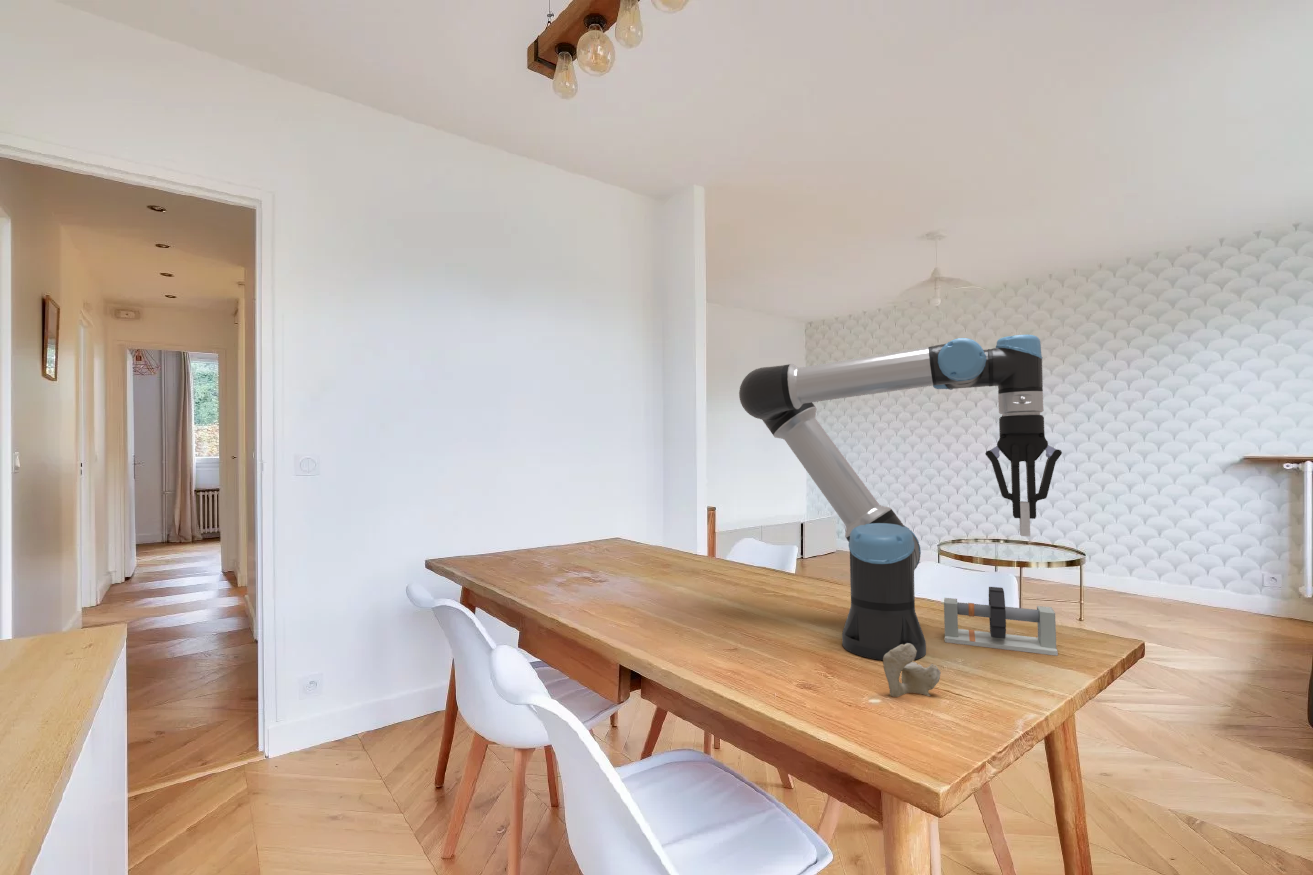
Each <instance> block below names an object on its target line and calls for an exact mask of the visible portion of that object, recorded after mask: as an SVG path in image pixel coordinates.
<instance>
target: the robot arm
mask: <svg viewBox="0 0 1313 875" xmlns="http://www.w3.org/2000/svg"><path fill="white" fill-rule="evenodd" d="M1041 344H1042V343H1041V340H1040V338H1039V337H1038V336H1037V335H1033V334H1016V335H1011V336H1010V335H1009V336H1004V337H1000V338H998V339H997V341H996V346H995V348H988V349H983V347H982V346H981V345H980V343H978V342H977V341H976V340H974V339H972V338H968V337H959V338H955V339H952V340H950V341H948V342H947V343H944V344H936V345H931V346H923V347H919V348H912V349H911V348H910V349H905V350H900V351H894V352H893V351H892V352H887V353H886V352H885V353H880V354H876V355H875V354H874V355H869V356H862V357H858V358H850V359H845V360H843V359H842V360H837V361H833V362H827V363H820V364H813V365H808V366H801V367H798V366H797V365H795V364H794V363H790V364H789V363H788V364H783V365H775V366H774V365H773V366H765V367H760V368H755V369H754V370H752V371H750V372H749V373H748V374H747V375H746V376H744V378H743V380H742V381H741V384H740V386H739V392H738V394H739V395H738V396H739V402H740V404H741V406H742V408H743V410H744V411H746V413H747V414H748V415H750V416H751V417H753V418H755V419H759V420H762V422H763V423H764V425H765V426H766V428H767V429H768V430H769V431H770V433H771V434H772V436H773V437H774V438H777V439H780V440H781V439H783V440H784V441H785V443H786V445H788V447H789V448H790V450H791V451H792V453H793V454H794V455H795V457H796V458H797V460H798V461H799V463H800V464H801V465H802V467H803V468H804V470H805V471H806V472H807V473H808V475H809V477H810V478H811V479H812V481H813V482H814V484H816V487H817V488H818V490H819V491H820V492H821V494H822V495H823V496H824V497H825V499H826V500H827V501H828V503H829V504H830V506H831V507H832V509H833V511H834V512H835V513H836V515H838V517H839V519H840V520H841V521H842V522H843V524H844V526H845V535H844V538H845V539H846V540H847V542H848V550H849V572H850V574H849V577H850V578H849V579H850V580H849V581H850V584H849V585H850V608H849V611H848V613H847V618H846V621H845V623H844V626H843V630H842V634H841V638H842V639H841V640H842V647H843V648H844V649H845V650H846V651H848V652H850V653H852V654H855V655H858V656H861V657H864V658H867V659H868V658H869V659H872V660H880V661H883V657H884V655H885V654H886V653H888V652H889V651H890V650H892V649H894V648H896V647H897V646H899V645H901V644H903V645H905V644H907V643H910V644H912V645H913V646H914V647H915V649H916V650H917V653H916V657H915V659H914V660H913V661H915V660H918V659H922V658H923V657H925V655H927V641H926V638H925V635H924V633H923V630H922V627H921V624H920V620H919V618H918V616H917V613H916V606H915V604H916V602H915V601H916V600H915V598H916V597H915V570H916V569H917V567H918V565H919V563H920V560H921V556H922V555H921V553H922V550H921V545H920V542H919V540H918V539H919V538H918V537H917V536H916V534H915V533H914V532H913V531H912V530H911V529H910V528H909V527H907V526H906V525H905V524H904V523H903V522H902V521H901V520H900V518H899V517H898V516H897V514H896V513H895V511H894V510H893V509H892V507H890V506H884V505H881V504H880V503H879V502H878V501H877V499H876V498H875V496H874V495H873V494H872V492H871V491H870V489H869V488H868V487H867V486H866V484H865V483H864V482H863V480H862V479H861V478H860V476H859V475H858V473H857V472H856V471H855V469H854V468H853V467H852V465H850V463H849V462H848V460H847V459H846V457H845V456H844V455H843V453H842V452H841V451H840V450H839V448H838V447H837V445H836V444H835V442H834V441H833V440H832V439H831V437H830V436H829V435H828V434H827V433H828V432H826V430H825V429H824V427H823V426H822V425H821V424H820V422H819V421H818V419H817V418H816V413H817V407H816V406H815V405H814V403H816V402H817V403H818V402H823V401H825V402H826V401H831V400H839V399H840V400H841V399H844V398H845V399H846V398H852V397H853V398H854V397H861V396H865V395H866V396H867V395H875V394H881V393H888V392H889V393H890V392H896V391H903V390H911V389H917V388H926V387H933V388H934V389H936V390H950V391H952V390H954V389H955V390H956V389H969V388H982V387H983V388H984V387H997V390H998V391H997V392H998V393H997V394H998V395H997V397H998V400H997V401H998V413H999V414H1000V415H1001V416H1000V417H999V419H998V424H999V425H998V426H999V429H998V430H999V439H998V441H997V442H996V446H994V447H993V448H991V449H989V450H986V451H985V456H986V457H987V459H988V460H989V461H990V462H991V464H992V465H991V466H992V469H993V472H994V475H995V478H996V481H997V485H998V488H999V491H1000V495H1001V496H1002V498H1004V499H1007V500H1009V501H1011V502H1012V503H1011V504H1012V516H1013V518H1014V519H1019V535H1020V536H1021V537H1031V519H1036V518H1037V502H1038V501H1041V500H1045V499H1047V497H1048V493H1049V490H1050V486H1051V482H1052V478H1053V476H1054V474H1053V473H1054V470H1055V466H1056V462H1057V461H1058V460H1059V458H1060V457H1061V455H1062V454H1063V452H1062V450H1061V449H1056V448H1055V447H1053V446H1051V445H1049V441H1048V440H1047V437H1045V417H1044V416H1043V415H1041V413H1043V412H1044V393H1043V392H1044V388H1043V382H1044V381H1043V354H1042V345H1041ZM1044 451H1045V452H1046V453H1045V457H1046V458H1047V459H1046V462H1045V465H1044V469H1043V473H1042V477H1041V480H1040V481H1041V482H1040V486H1039V489H1038V492H1037V491H1036V490H1037V489H1036V461H1037V460H1039V458H1040V457H1041V455H1042V454H1043V453H1044ZM1000 452H1001V453H1002V454H1003V455H1004V456H1005V457H1006V459H1007V460H1008V461H1009V462H1010V473H1011V474H1010V476H1011V480H1010V481H1011V492H1010V491H1009V489H1008V486H1007V483H1006V480H1005V476H1004V473H1003V469H1002V467H1001V463H1000V461H999V458H1000V456H1001V455H1000ZM1021 462H1025V468H1026V469H1025V470H1026V471H1025V472H1026V492H1027V493H1026V495H1027V496H1026V497H1027V501H1021V481H1020V479H1021V476H1020V474H1021V473H1020V463H1021Z"/></svg>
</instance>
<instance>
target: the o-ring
mask: <svg viewBox="0 0 1313 875" xmlns="http://www.w3.org/2000/svg"><path fill="white" fill-rule="evenodd" d="M1005 598H1006V597H1005V591H1004V588H1003V587H1001V586H1000V587H997V586H988V605H990V608H991V618H989V620H988V621H989V632H990V634H991V637H995V638H1004V639H1005V637H1006V634H1007V619H1006V610H1005V607H1006V600H1005Z"/></svg>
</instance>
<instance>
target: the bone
mask: <svg viewBox="0 0 1313 875" xmlns="http://www.w3.org/2000/svg"><path fill="white" fill-rule="evenodd" d="M916 653H917V650H916V649H915V647H914V646H913V645H912V644H910V643H907V644H905V645H903V644H901V645H899V646H897V647H896V648H894V649H892V650H890V651H889V652H888V653H886V654H885V655H884V657H883V660H882V662H883V665H882V666H883V671H884V674H885V677H886V680H887V683H888V689H889V696H890V697H892V698H899V697H901V696H904V695H907V694H909V693H914V694H921V695H924V696H927V697H931V696H932V695H931V694H930V693H929V692H930V691H931V690H933V689H934V688H935V687H936V685H937V684H938V683H939V681H940V680H941V671H940V668H938V666H937V664H934V663H931V664H930V665H929V666H928V667H924V666H923V665H921V664H918V663H917V662H915V660H916V659H915V657H916ZM914 659H915V660H914ZM900 676H901V678H900ZM900 680H901V682H900Z"/></svg>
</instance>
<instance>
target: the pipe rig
mask: <svg viewBox="0 0 1313 875" xmlns="http://www.w3.org/2000/svg"><path fill="white" fill-rule="evenodd" d="M1005 610H1006V620H1008V621H1019V622H1030V623H1037V637H1035V636H1029V635H1027V636H1026V635H1018V634H1009V633H1006V637H1005V639H1004V638H995V637H991V634H990V631H981V630H975V629H964V628H959V619H958V615H960V616H969V617H980V618H991V608H990V605H989V604H980V603H979V604H978V603H973V602H958V598H951V597H944V598H943V614H944V615H943V616H944V617H943V620H944V643H948V644H956V645H957V644H958V645H966V646H974V647H982V648H991V649H997V650H998V649H999V650H1006V651H1007V650H1008V651H1015V652H1024V653H1025V652H1026V653H1031V654H1032V653H1034V654H1040V655H1049V656H1059V654H1058V653H1059V652H1058V649H1057V630H1056V627H1057V626H1056V622H1057V621H1056V612H1055V611H1054V609H1053V607H1052V606H1043V605H1042V606H1040V605H1037V606H1036V609H1035V608H1024V607H1015V606H1014V607H1012V606H1005Z"/></svg>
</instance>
